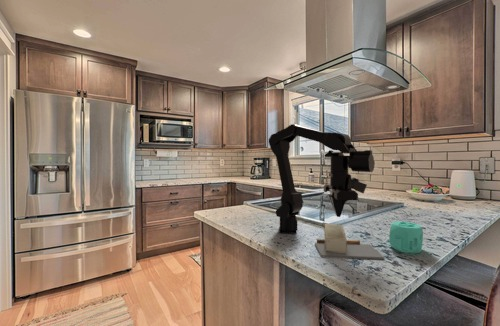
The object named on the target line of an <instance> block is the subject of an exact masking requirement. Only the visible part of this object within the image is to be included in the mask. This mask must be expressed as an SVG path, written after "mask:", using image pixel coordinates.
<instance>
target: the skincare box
mask: <svg viewBox="0 0 500 326" xmlns="http://www.w3.org/2000/svg"><path fill="white" fill-rule="evenodd" d="M323 231H324V232H323V233H324V239H325V251H329V252H336V253H345V254H346V249H347V240H348V239H347V235H346V233H345V228H344V225H342V224H332V223H324V230H323Z"/></svg>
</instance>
